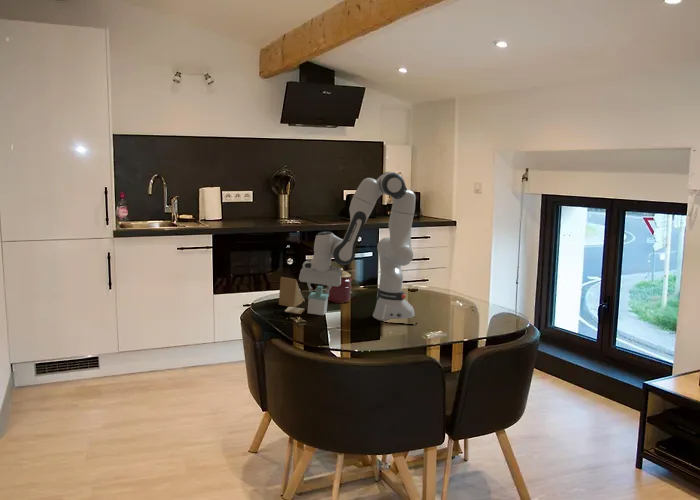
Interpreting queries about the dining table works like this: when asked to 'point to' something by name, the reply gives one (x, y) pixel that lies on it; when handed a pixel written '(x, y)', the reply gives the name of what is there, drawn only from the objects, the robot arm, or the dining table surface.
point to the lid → (318, 294)
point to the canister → (341, 289)
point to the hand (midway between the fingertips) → (318, 292)
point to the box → (317, 306)
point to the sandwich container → (290, 293)
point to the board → (294, 310)
